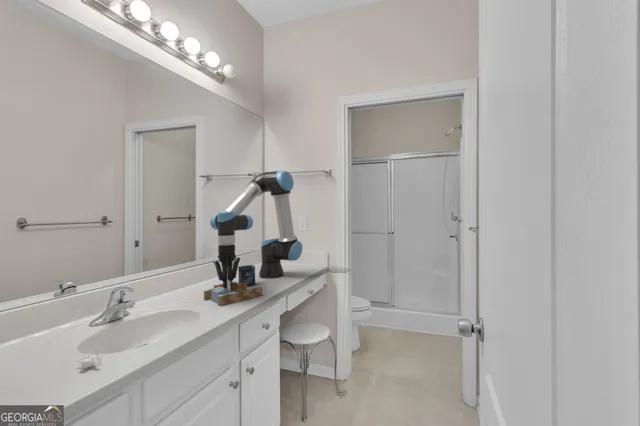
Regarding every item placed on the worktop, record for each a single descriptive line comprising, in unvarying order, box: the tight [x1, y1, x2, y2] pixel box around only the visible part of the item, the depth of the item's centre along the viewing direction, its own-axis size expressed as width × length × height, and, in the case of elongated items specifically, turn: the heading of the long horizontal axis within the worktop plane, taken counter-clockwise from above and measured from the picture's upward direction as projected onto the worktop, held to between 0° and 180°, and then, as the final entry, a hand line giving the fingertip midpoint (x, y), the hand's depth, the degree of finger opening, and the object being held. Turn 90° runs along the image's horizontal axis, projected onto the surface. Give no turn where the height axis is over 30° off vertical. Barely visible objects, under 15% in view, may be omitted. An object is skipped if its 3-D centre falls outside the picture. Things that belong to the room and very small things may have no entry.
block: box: [210, 288, 230, 304], centre depth 144 cm, size 6×6×5 cm
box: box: [237, 264, 256, 287], centre depth 173 cm, size 8×6×11 cm
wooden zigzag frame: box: [203, 281, 263, 307], centre depth 151 cm, size 22×22×4 cm
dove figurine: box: [76, 348, 102, 370], centre depth 84 cm, size 8×5×5 cm, turn 78°
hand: (227, 294), depth 147 cm, fingers closed
